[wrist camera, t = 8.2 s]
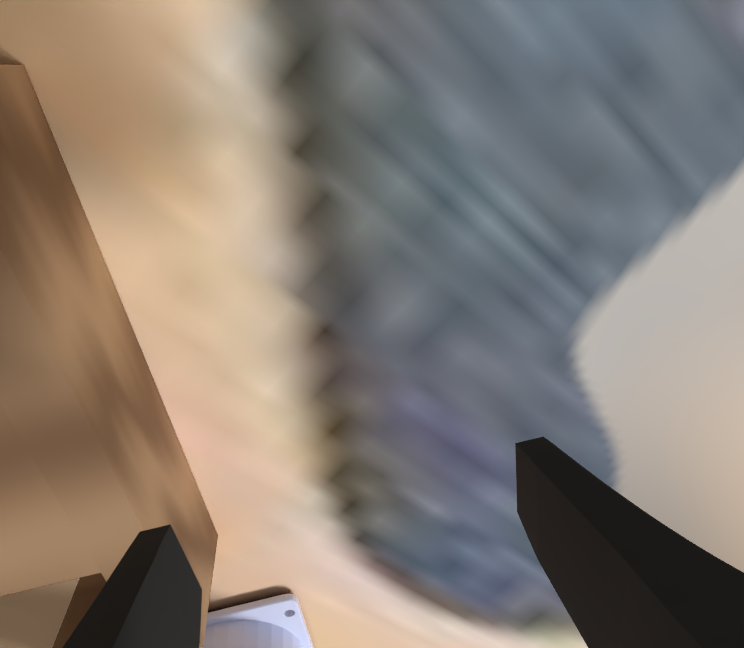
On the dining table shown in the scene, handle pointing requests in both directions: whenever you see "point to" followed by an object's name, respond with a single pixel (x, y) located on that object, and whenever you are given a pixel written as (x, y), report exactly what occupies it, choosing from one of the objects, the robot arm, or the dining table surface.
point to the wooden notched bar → (75, 390)
